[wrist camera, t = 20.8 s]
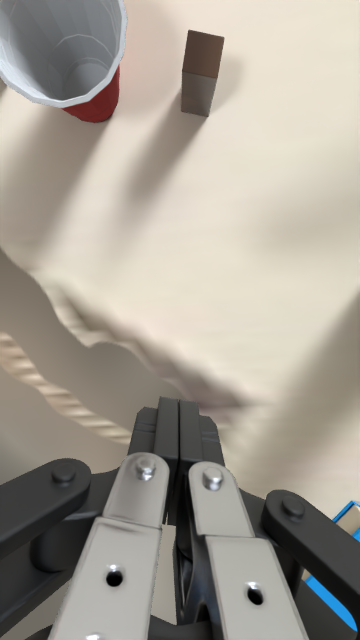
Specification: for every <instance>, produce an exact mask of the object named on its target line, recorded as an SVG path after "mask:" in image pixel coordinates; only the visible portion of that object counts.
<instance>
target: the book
mask: <svg viewBox="0 0 360 640" xmlns="http://www.w3.org/2000/svg"><path fill="white" fill-rule="evenodd" d="M332 521H333V522H335V523H336V524H337V525H338V526H340V527H341V528H342V529H344V530H345V531H346V532H347V533H349V534H350V535H351V536H353V537H354V538H355V539H356V540H358V541H359V542H360V506H359V505H358V504H356V503H355V502H353V501H351V502H350V503H349V504H348V505H347V506H346V507H345V508H344V509H343V510H342V511H341V512H340V513H339V514H338V515H337V516H336V517H335V518H334V519H333V520H332ZM302 580H303V581H304V582H305V583H306V584H307V585H308V586H309V587H310V588H311V589H312V590H313V591H314V592H315V593H316V594H317V595H318V596H319V597H320V598H321V599H322V600H323V601H324V602H325V603H326V604H327V605H328V606H329V607H330V608H331V609H332V610H333V611H334V612H335V613H336V614H337V615H338V616H339V617H340V618H341V619H342V620H343V621H344V622H345V623H346V624H347V625H348V626H350V627H351V628H352V629H353V630H355V631H357V627H356V624H355V621H354V619H353V617H352V616H351V614H350V613H349V611H348V610H347V609H346V608H345V607H344V606H343V605H342V604H341V603H340V602H339V601H338V600H337V599H336V598H335V597H334V596H333V595H332V594H331V593H330V592H329V591H328V590H327V589H325V588H324V587H323V586H322V585H321V584H320V583H319V582H318V581H317V580H316V579H315V578H314V577H313V576H312V575H311V574H310V573H309V572H308V571H307V570H306V569H305V570H304V573H303V576H302Z"/></svg>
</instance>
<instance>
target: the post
mask: <svg viewBox="0 0 360 640" xmlns="http://www.w3.org/2000/svg"><path fill="white" fill-rule="evenodd" d="M223 44H224V37H221V36H216V35H211V34H207V33H202V32H197V31H193V30H188V35H187V42H186V49H185V55H184V62H183V68H182V96H181V111H182V112H187V113H192V114H197V115H202V116H207V117H208V116H209V112H210V107H211V103H212V99H213V95H214V91H215V86H216V82H217V78H218V72H219V66H220V61H221V55H222V49H223Z"/></svg>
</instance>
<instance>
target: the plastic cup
mask: <svg viewBox="0 0 360 640" xmlns="http://www.w3.org/2000/svg"><path fill="white" fill-rule="evenodd" d="M126 25H127V15H126V10H125V6H124V1H123V0H0V77H1V79H2V80H3V81H4V83H5V84H6V85H8V86H9V87H11V88H12V89H14V90H15V91H17V92H18V93H20V94H21V95H23V96H24V97H26V98H27V99H29V100H30V101H32V102H34V103H39V104H44V105H49V106H54V107H59V108H61V109H63V110H64V111H66V112H68V113H69V114H71V115H73V116H76V117H77V118H79V119H80V120H82V121H87V122H92V123H96V122H100V121H103V120H105V119H106V118H108V117H109V116H110V115H111V114H112V113H113V111H114V109H115V107H116V105H117V103H118V97H119V76H120V73H119V63H120V61H121V59H122V57H123V54H124V47H125V36H126Z"/></svg>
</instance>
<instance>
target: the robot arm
mask: <svg viewBox="0 0 360 640" xmlns="http://www.w3.org/2000/svg"><path fill="white" fill-rule="evenodd" d="M167 512H168V520H167V525H173V526H176V536H175V541H174V546H173V568H174V585H175V601H176V618H177V625H173V624H171V623H169V622H166V621H164V620H162V619H160V618H157V617H155V616H153V615H151V608H152V600H153V593H154V585H155V578H156V571H157V565H158V557H159V550H160V542H161V536H162V528H161V527H162V524H165V523H166V517H167ZM305 569H306V570H307V571H308V572H309V573H310V574H311V575H312V576H313V577H314V578H315V579H316V580H317V581H318V582H319V583H320V584H321V585H322V586H323V587H324V588H325V589H327V590H328V591H329V592H330V593H331V594H332V595H333V596H334V597H335V598H336V599H337V600H338V601H339V602H340V603H341V604H342V605H343V606H344V607H345V608H346V609H347V610H348V611H349V613H350V614H351V616H352V617H353V619H354V621H355V624H356V627H357V631H355V630H353V629H352V628H351V627H350V626H348V625H347V624H346V623H345V622H344V621H343V620H342V619H341V618H340V617H339V616H338V615H337V614H336V613H335V612H334V611H333V610H332V609H331V608H330V607H329V606H328V605H327V604H326V603H325V602H324V601H323V600H322V599H321V598H320V597H319V596H318V595H317V594H316V593H315V592H314V591H313V590H312V589H311V588H310V587H309V586H308V585H307V584H306V583H305V582H304V581H303V580H302V576H303V573H304V570H305ZM70 578H72V579H71V581H70V584H69V586H68V589H67V591H66V594H65V596H64V599H63V601H62V604H61V606H60V609H59V612H58V614H57V617H56V619H55V622H54V624H52V625H50V626H48V627H46V628H44V629H42V630H40V631H38V632H36V633H35V634H33V635H31V636H30V637H28V638H27V639H25V640H360V542H359V541H358V540H356V539H355V538H354V537H353V536H351V535H350V534H349V533H347V532H346V531H345V530H344V529H342V528H341V527H340V526H338V525H337V524H336V523H335V522H333V521H332V520H331V519H329V518H328V517H327V516H326V515H324V514H323V513H322V512H321V511H319V510H318V509H317V508H315V507H314V506H313V505H312V504H310V503H309V502H308V501H306V500H305V499H304V498H302V497H301V496H299V495H297V494H295V493H293V492H290V491H286V490H273V491H271V492H270V493H268V495H267V497H266V500H264V499H261V498H259V497H256V496H254V495H251V494H249V493H247V492H245V491H243V490H241V489H240V488H239V487H238V485H237V482H236V479H235V477H234V476H233V474H232V473H231V472H230V471H229V470H228V469H226V468H225V463H224V458H223V454H222V449H221V444H220V440H219V436H218V431H217V426H216V424H215V423H214V422H213V420H212V419H211V418H210V417H208V416H201V415H199V408H198V402H194V401H188V400H181V399H180V400H179V402H178V399H174V398H168V397H162V396H160V399H159V404H158V409H155V408H148V407H144V408H143V409H141V410H140V411H139V412H138V413H137V417H136V421H135V425H134V430H133V433H132V438H131V442H130V446H129V450H128V454H127V457H126V458H125V459H124V460H123V461H122V463H121V466H120V467H118V468H117V469H115V470H112V471H109V472H105V473H98V474H91V470H90V468H89V467H88V466H87V465H86V464H85V463H84V462H82V461H80V460H76V459H70V458H64V459H57V460H54V461H51V462H49V463H47V464H44V465H42V466H40V467H38V468H36V469H34V470H32V471H30V472H27V473H25V474H23V475H21V476H19V477H17V478H15V479H13V480H11V481H9V482H6V483H4V484H2V485H0V637H2V636H3V635H4V634H5V633H6V632H8V631H9V630H10V629H11V628H12V627H13V626H15V625H16V624H17V623H18V622H19V621H21V620H22V619H23V618H24V617H25V616H27V615H28V614H29V613H30V612H31V611H33V610H34V609H35V608H36V607H37V606H38V605H40V604H41V603H42V602H43V601H45V600H46V599H47V598H48V597H49V596H50V595H52V594H53V593H54V592H55V591H56V590H58V589H59V588H60V587H61V586H62V585H64V584H65V583H66V582H67V581H68V580H70Z"/></svg>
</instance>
